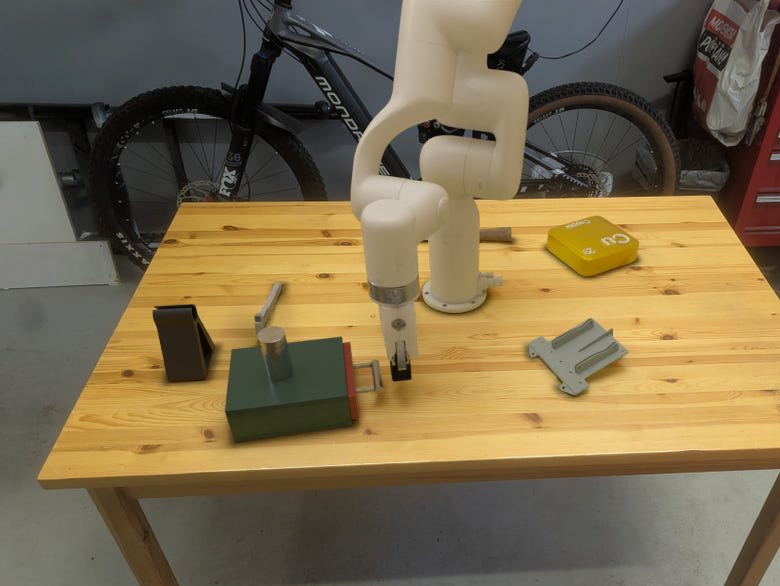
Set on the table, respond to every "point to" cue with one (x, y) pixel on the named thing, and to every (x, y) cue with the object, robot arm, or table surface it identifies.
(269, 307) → the grey bent bar
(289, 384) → the cabinet
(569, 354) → the metal bracket
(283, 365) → the tin
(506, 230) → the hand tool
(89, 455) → the table surface
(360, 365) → the drawer
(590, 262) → the element tile
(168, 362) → the phone stand
